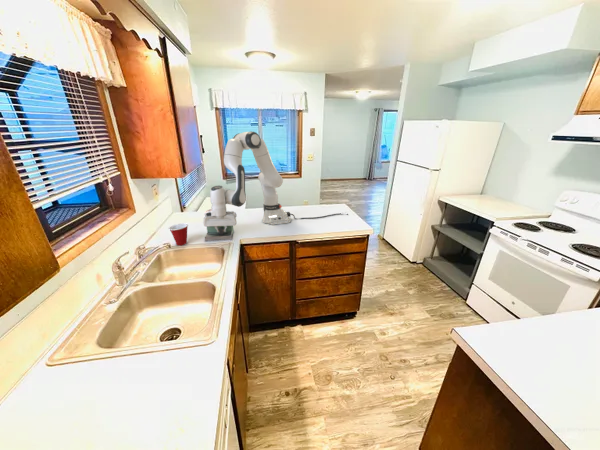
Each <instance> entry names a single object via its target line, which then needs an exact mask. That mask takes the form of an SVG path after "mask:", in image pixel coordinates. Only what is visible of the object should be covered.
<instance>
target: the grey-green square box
mask: <svg viewBox="0 0 600 450" xmlns="http://www.w3.org/2000/svg"><path fill="white" fill-rule="evenodd" d="M220 227H223V229H225V227H224V226H217V228H218V229H219V228H220ZM206 232H207V233H206V234H205V236H204V240H205V242H215V241H216V242H218V241H231V240H232V238H233V234H234V226H227V228H226V232H224V234H223V235H219V232H217V230H216V229H215V226H210V227H206Z"/></svg>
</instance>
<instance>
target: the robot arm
mask: <svg viewBox="0 0 600 450" xmlns="http://www.w3.org/2000/svg"><path fill="white" fill-rule="evenodd" d="M245 150H246V151H248V150H251V152H252V155H253V158H254V160H255V163H256V165H257V168H258V169H259V171H260V172H259V173H258V176H257V177H258V181H259V183H260V187H261V190H262V195H263V203H262V205H263V206H262V210H263V217H262V222H263V223H264V224H268V225H271V226H273V225H281V224H282V225H283V224H289V223H291V221H292V219H291V218H290V217H291V216H293V219H295V220H297V218H296V216H295V214H293V213H291V212H290V211H286V210H284V209H283V208H282V207H283V206H282V204H280V203H279V194H278V191H277V189H276V188H280V187H281V186H282V185H283V182H284V179H283V177H282V175H280V173H279V171H278V169H277V168H276V166H275V165H274V163H273V159H272V157H271V154H270V151H269V148H268V146H267V144H266V142H265V140H264V139H263V138H261V136H260V135H259V134H258V133H257V132H256V131H252V130H249V131H243V132H240V133H236V134H235V135H234V136H233V137H232V138H230V139H228V140H227V143H226V145H225V149H224V155H223V165H224V167H225V168H226V169H227V170H229V171H230V172H231V173H233V174H234V177H235V189H230V188H225V187H224V186H222V185H214V186H211V188H210V189H209V198H210V203H211V208H210V209H207V210H205V211H204V217H203V226H204V227H206V228H207V227H210V226H215V229H216V230H217V232H219V229H218V228H217V226H224V227H225V229H223V232H226V228H227V226H233V227H234V226H236V225H237V223H238V221H237V213H236V212H235V211H233V210H231V211H228V210H227V205H231V206H234V207H239V208H240V207H242V206H243V205H244V204H245V203H246V201H247V196H246V171H245V167H244V166H243V153H244V151H245ZM341 213H342V212H341ZM341 213H339V212H338V213H332V214H327V215H322V216H316V217H300V218H299V220H304V219H306V220H307V219H310V220H311V219H320V218H326V217H331V216H336V215H342V214H341ZM346 215H347V216H349V214H348V213H347V214H346Z"/></svg>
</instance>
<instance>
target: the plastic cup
mask: <svg viewBox="0 0 600 450" xmlns="http://www.w3.org/2000/svg"><path fill="white" fill-rule="evenodd" d="M188 226H189V224H188V223H177V224H173V225H171V226H169V227H168V230H169V231H170V232H171V235H172V237H173V240H174V241H175V244H176V246H178V247H179V246H185V245H186V244H187V243H188Z"/></svg>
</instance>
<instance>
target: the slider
mask: <svg viewBox="0 0 600 450" xmlns="http://www.w3.org/2000/svg"><path fill="white" fill-rule="evenodd" d="M223 234H224V232H223V227H220V228H219V235H223Z"/></svg>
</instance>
